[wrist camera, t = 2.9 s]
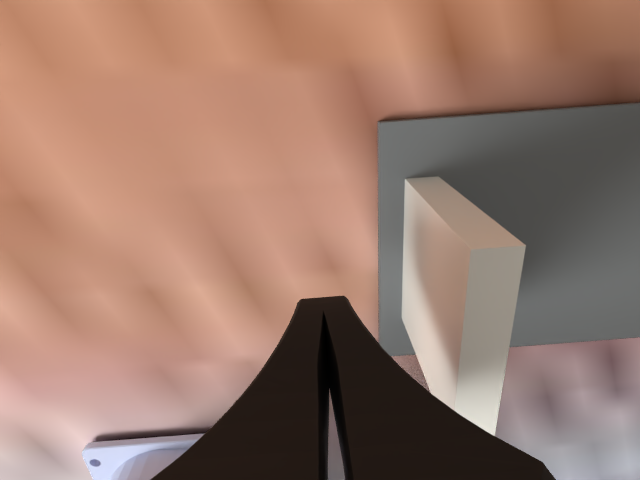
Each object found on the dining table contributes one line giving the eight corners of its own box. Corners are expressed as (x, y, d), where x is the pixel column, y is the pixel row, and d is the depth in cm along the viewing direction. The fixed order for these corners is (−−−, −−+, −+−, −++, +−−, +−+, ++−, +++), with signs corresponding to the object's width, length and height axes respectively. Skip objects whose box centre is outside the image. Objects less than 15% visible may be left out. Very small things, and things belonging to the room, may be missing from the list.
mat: (664, 329, 17) (672, 334, 17) (378, 351, 17) (380, 357, 17) (748, 94, 13) (760, 95, 13) (377, 121, 13) (379, 123, 13)
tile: (433, 315, 16) (499, 440, 11) (401, 318, 16) (450, 444, 11) (442, 175, 14) (532, 245, 8) (405, 178, 14) (470, 249, 8)
